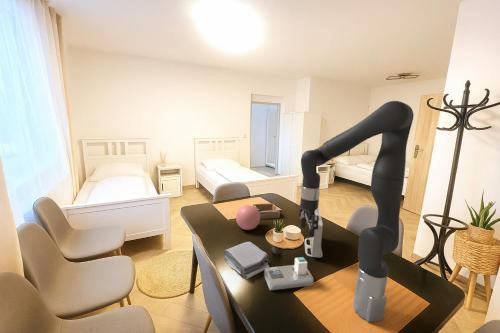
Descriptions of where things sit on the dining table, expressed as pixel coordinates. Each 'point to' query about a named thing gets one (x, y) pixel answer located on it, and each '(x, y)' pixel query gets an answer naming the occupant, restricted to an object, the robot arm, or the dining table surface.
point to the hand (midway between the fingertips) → (306, 232)
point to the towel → (246, 259)
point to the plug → (300, 266)
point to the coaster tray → (268, 214)
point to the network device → (315, 239)
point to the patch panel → (286, 278)
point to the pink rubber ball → (248, 217)
